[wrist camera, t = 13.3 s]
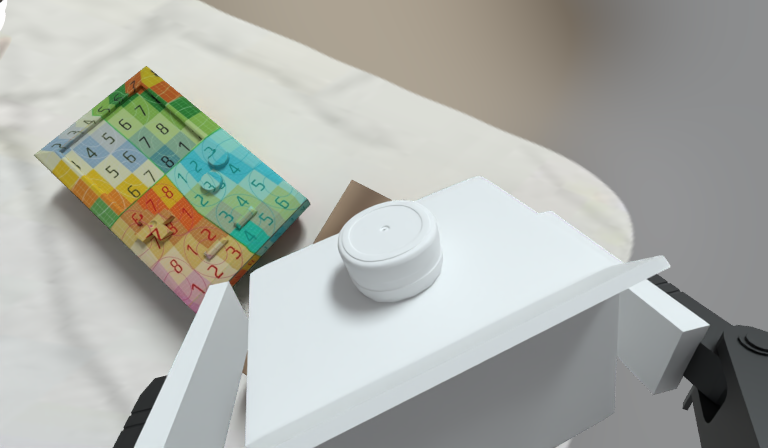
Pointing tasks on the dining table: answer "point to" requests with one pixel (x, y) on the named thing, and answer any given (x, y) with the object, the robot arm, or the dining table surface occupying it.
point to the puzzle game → (173, 186)
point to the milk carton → (436, 330)
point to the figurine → (2, 12)
